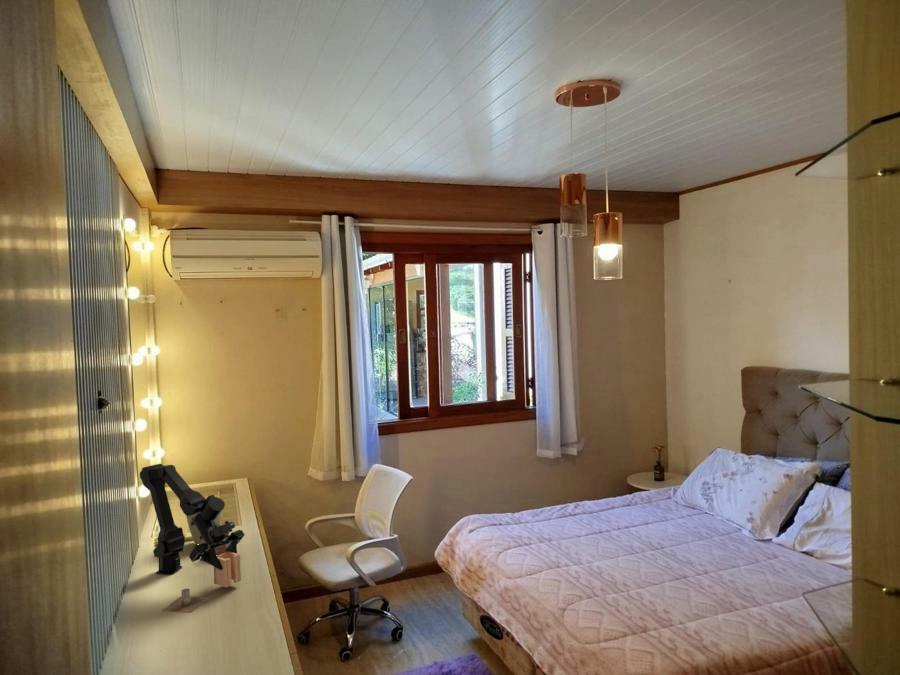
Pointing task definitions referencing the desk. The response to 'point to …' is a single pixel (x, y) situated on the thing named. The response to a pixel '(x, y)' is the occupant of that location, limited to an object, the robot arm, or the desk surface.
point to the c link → (228, 569)
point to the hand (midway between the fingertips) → (229, 566)
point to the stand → (185, 603)
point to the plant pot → (194, 530)
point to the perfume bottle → (221, 549)
